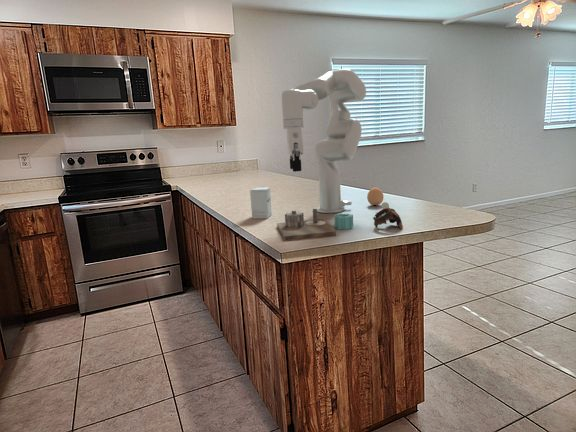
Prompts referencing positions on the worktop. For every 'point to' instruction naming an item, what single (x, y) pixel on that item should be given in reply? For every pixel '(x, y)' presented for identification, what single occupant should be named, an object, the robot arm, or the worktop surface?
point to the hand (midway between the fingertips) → (295, 170)
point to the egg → (375, 196)
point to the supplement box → (260, 202)
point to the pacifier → (384, 205)
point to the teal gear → (343, 221)
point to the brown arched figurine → (387, 217)
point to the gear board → (304, 227)
